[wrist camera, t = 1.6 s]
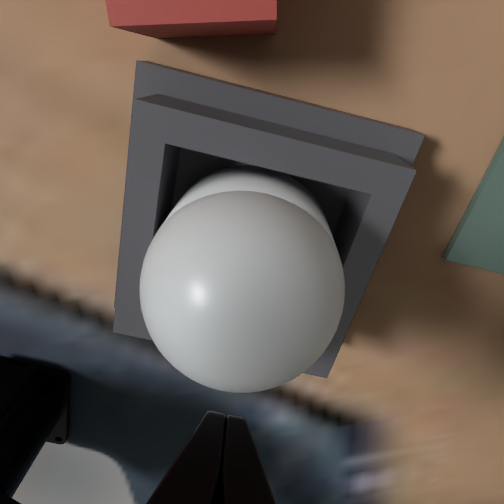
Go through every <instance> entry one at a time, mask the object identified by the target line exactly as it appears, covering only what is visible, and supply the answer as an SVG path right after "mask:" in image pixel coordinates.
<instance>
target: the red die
mask: <svg viewBox="0 0 504 504" xmlns="http://www.w3.org/2000/svg"><path fill="white" fill-rule="evenodd" d="M106 6H107V12H108V18H109V24H110V26H111V27H114V28H118V29H122V30H126V31H130V32H134V33H138V34H142V35H146V36H149V37H153V38H171V37H197V36H223V35H250V34H275V32H276V22H277V0H106Z"/></svg>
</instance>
